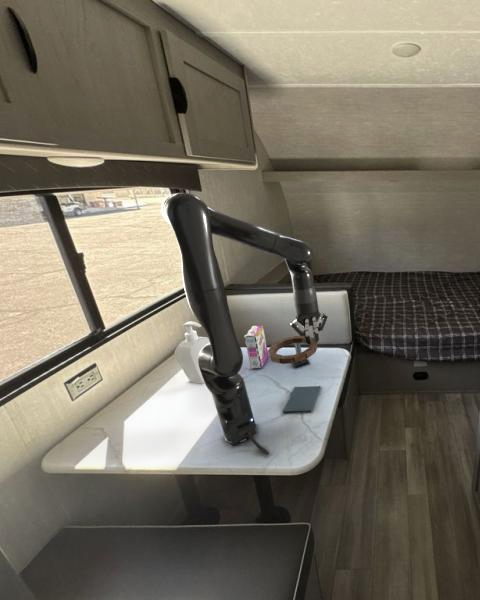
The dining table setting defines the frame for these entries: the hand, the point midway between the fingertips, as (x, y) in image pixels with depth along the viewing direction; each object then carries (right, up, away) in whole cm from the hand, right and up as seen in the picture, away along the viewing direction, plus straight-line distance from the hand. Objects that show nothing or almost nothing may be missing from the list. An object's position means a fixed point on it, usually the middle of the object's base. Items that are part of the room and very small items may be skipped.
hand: (312, 342), depth 113 cm
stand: (-13, -13, +28) cm, 34 cm away
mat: (-5, -22, +5) cm, 23 cm away
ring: (-6, -3, -3) cm, 7 cm away
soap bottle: (-52, -18, +21) cm, 59 cm away
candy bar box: (-33, -13, +30) cm, 46 cm away
